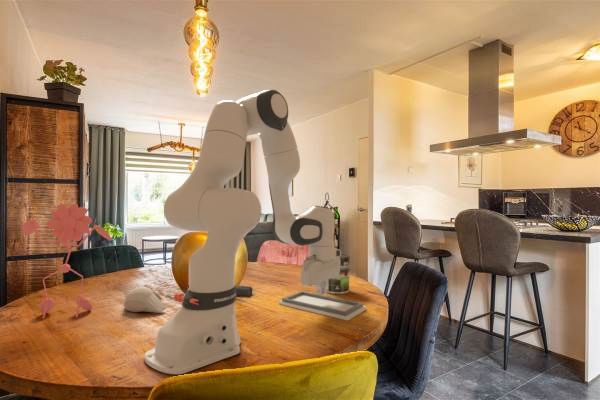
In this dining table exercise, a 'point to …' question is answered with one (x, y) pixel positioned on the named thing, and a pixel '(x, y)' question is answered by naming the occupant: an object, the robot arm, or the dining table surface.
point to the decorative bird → (143, 300)
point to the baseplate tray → (324, 305)
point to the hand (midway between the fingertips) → (321, 293)
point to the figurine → (66, 227)
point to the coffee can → (340, 278)
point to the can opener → (243, 290)
